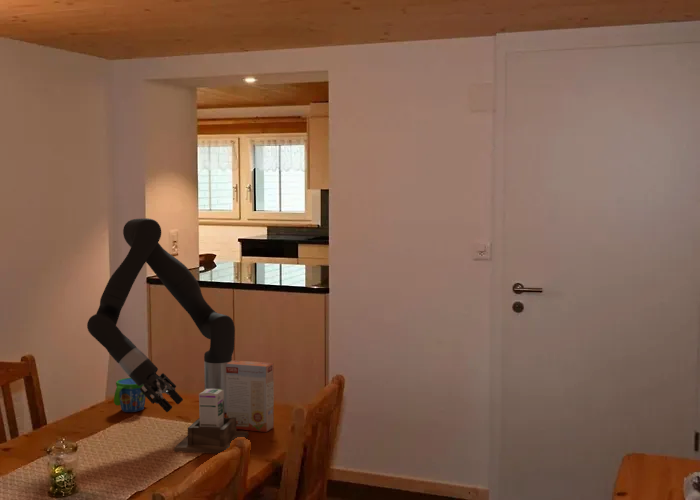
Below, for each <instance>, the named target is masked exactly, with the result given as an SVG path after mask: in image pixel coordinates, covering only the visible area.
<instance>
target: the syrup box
mask: <svg viewBox="0 0 700 500" xmlns="http://www.w3.org/2000/svg"><path fill="white" fill-rule="evenodd" d="M198 407H199V410H198V411H199V412H198V413H199V417H198V419H199V418H200V427H219V428H222V427H223V426H224V418H225V413H224V390H223V389H206V390H205V389H204V390H203V391H202V392H199V393H198Z"/></svg>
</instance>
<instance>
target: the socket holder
mask: <svg viewBox="0 0 700 500" xmlns="http://www.w3.org/2000/svg"><path fill="white" fill-rule="evenodd" d="M237 437H245V438H246V439H247V438H248V437H249V431H245V430H241V431H240V430H239V431H238V430H237V429H236V418H234V417H232V418H227V417H224V426H223V427H222V428H219V427H200V418H199V417H198V418H197V419H196V420H195V421H194V422H193V423H191V424H190V425H189V426H188V427H187V436H185V437H184V438H183V439H182V440H181V441H180V442H178V443H177V444H176V445H175V446H174V447H173V448H174V449H173V450H174V452H178V451H182V453H198V454H214V455H215V454H217V453H220V452H222V451H224V450H226V449H227V448H229V447H230V443H231V441H232V440H234V439H235V438H237ZM217 455H218V454H217Z"/></svg>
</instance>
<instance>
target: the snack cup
mask: <svg viewBox="0 0 700 500" xmlns="http://www.w3.org/2000/svg"><path fill="white" fill-rule="evenodd" d="M115 385H116V389H115V392H114V396H113V404H114V405H115V406H120V409H121V410H122V412H123V413H138V412H140V411H142V410H144V409H145V406H146V405H145V404H146V398H147V397H146V396H145V395H144V394H143V393H142V392H141V390H140V388H141V387H142V386H143V385H141V386H138V385H137V384H136V383H135V382H134V381H133V380H132V379H131V378H130V377H126V378H120V379H118V380H116V382H115Z"/></svg>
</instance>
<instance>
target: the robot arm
mask: <svg viewBox="0 0 700 500" xmlns="http://www.w3.org/2000/svg"><path fill="white" fill-rule="evenodd" d="M122 234H123V238H124V241H125V242H126V244H128V246H129V247H130V249H129V251H128V253H127V255H126V256H125V258H124V259H123V261H121V263H120V265H119V266H118V267H117V268H116V270H115V271H114V272H113V273H112V275H111V276H110V278H109V279H108V282H107V283H106V286H104V287H105V288H104V290H103V291H102V294H101V297H100V300H99V307H98V309H97V311H96V313H95V314H93V315H92V316H90V317H89V319H88V320H87V323H86V325H87V326H86V327H87V331H88V333H89V334H90V335H91V336H92V337H93V338H94V339H95V340H96V341H97V342H98V343H99V344H100V345H101V346H102V347H104V348H105V350H106V351H107V352H108V353H109V355H110V356H111V357H112V358H113V360H114V361H116V363H118V365H119V366H120V368H121V369H122V370H123V371H124V372H125V374H126V375H128V376H129V377H128V378H131V379H132V380H133V381H134V382H135V383H136V384H137V385H138V386H141V385H143V386H142V387H141V388H140V390H141V392H142V393H143V394H144V395H145V396H146V398H147V399H148V401H149V402H150V403H151V404H153V405H154V404H156V405H159V406H160V407H161V409H163V410H164V411H165V412H166V413H168V412H170V411H171V410H172V409H173V405H172V404H171V403H169V401H168V400H167V399H166V398H165V397H164V395H163V394H166V395H168V396H169V397H170V399H171V400H172V401H173V402H174V403H175V404H176V405H179V404H181V403H182V402H183V400H184V399H183V397H181V395H180V394H179V393H178V392H177V391H176V388H177V385H176V384H175V383H174V382H173V381H172V380H171V379H170V378H169V377H168V376H167V375H166V374H165V373H164V372H162V373H161V374H160V375H159V374H157V372H158V370H159V369H158V366H156V365H155V364H154V362H153V361H151V360H150V358H149V357H148V356H147V354H145V353H144V352H143V351H142V350H141V349H139V348H138V347H137V346H136V344H134V343H133V341H132V340H131V339H130V338H128V337H127V336H126V335H125V334H124V333H123V332H122V331H121V330H120V328H119V327H118V325H117V324H118V321H119V317H120V314H121V312H122V309H123V307H124V305H125V303H126V300H127V298H128V297H129V294H130V291H131V289H132V287H133V285H134V284H135V281H136V280H137V277H138V275H139V274H140V272H141V271H142V269H143V267H144V265H145V263H146V264H147V265H148V266H149V268H150V269H151V270H152V272H153V273H154V274H155V275H156V276H157V278H158V279H159V280H160V282H161V283H162V284H163V286H164V287H165V288H166V289H167V290H168V292H169V293H170V294H171V296H172V297H174V298H175V300H176V301H177V302H178V303H179V305H180V306H181V307H182V308H183V309H184V311H186V313H188V316H189V317H190V318H191V320H192V321H193V322H194V324H195V325H196V327H197V329H198V330H199V332H200V333H201V335H203V337H204V338H206V339H208V340H210V341H209V343H210V344H209V349H208V350H207V351H205V352H204V355H203V358H204V359H203V360H204V361H203V367H204V373H203V374H204V391H205V390H206V389H223V390H224V414H227V403H226V364H227V363H229V362H232V361H233V357H232V356H233V354H234V350H235V341H236V340H235V338H236V337H235V335H236V333H235V331H236V329H235V323H234V320H233V319H232V317H231V316H229V315H228V314H227V315H226V314H223V313H220V312H219V313H218V312H216V311H215V310H214V308H213V307H211V306H210V305H209V303H207V301H206V299H205V298H204V296H203V293H202V290H201V287H200V284H199V281H198V280H197V278H196V277H195V276H194V274H193V273H192V272H191V270H189V268H188V267H187V266H186V265H185V264H184V263H183V262H182V261H180V260H179V259H178V258H176V257H175V256H174V255H172V254H171V253H169V252H168V251H167V250H166V249H165V248H164V247H162V245H161V244H160V240H161V237H162V227H161V225H160V224H159V223H158V222H157V220H155V219H152V218H144V217H143V218H134V219H130V220H128V221H127V222H126V223H125V224H124V226H123V229H122Z"/></svg>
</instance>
